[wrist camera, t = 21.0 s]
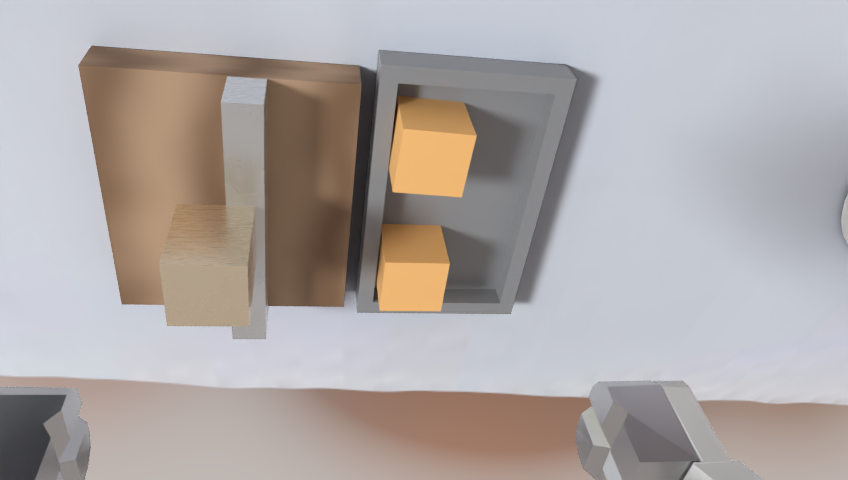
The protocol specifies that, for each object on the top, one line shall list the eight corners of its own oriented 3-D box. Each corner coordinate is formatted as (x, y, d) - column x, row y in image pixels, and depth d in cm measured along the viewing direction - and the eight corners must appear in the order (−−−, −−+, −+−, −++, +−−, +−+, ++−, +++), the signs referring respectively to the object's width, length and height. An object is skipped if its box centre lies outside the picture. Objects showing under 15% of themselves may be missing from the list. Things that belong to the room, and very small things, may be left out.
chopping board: (359, 65, 38) (361, 84, 36) (342, 282, 47) (343, 306, 45) (91, 46, 35) (78, 65, 33) (130, 278, 45) (121, 304, 43)
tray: (566, 64, 39) (576, 79, 38) (504, 295, 50) (510, 314, 49) (378, 50, 38) (381, 64, 36) (355, 293, 48) (357, 312, 47)
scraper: (267, 78, 35) (256, 157, 29) (268, 306, 45) (260, 402, 38) (176, 72, 34) (144, 152, 28) (197, 305, 44) (177, 403, 38)
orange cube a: (464, 102, 40) (476, 135, 36) (450, 161, 42) (461, 197, 39) (396, 95, 39) (403, 128, 36) (386, 155, 41) (392, 192, 38)
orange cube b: (440, 225, 45) (449, 263, 42) (432, 271, 47) (440, 311, 44) (380, 223, 44) (385, 262, 41) (375, 270, 47) (379, 310, 43)
